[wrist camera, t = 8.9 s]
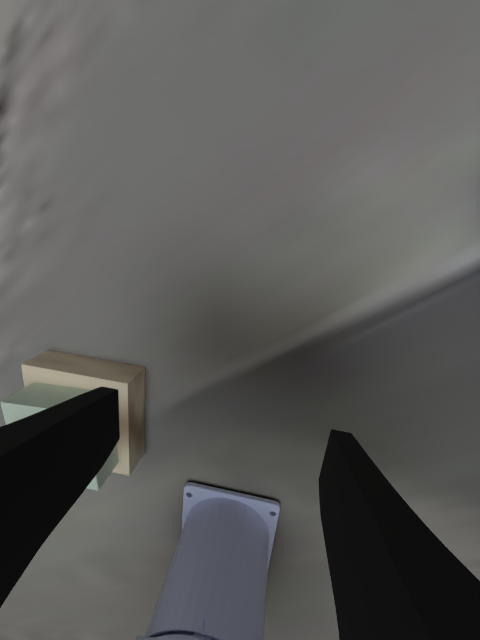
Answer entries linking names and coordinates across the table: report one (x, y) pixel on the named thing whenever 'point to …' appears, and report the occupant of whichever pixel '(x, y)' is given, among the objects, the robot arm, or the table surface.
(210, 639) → the robot arm
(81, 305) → the table surface
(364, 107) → the table surface
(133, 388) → the tower base
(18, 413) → the tower top
